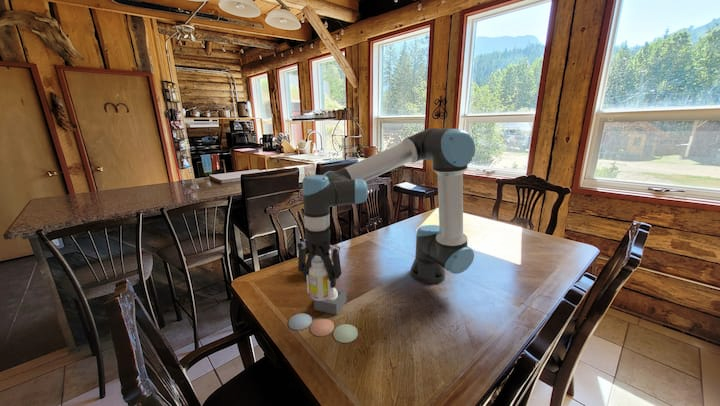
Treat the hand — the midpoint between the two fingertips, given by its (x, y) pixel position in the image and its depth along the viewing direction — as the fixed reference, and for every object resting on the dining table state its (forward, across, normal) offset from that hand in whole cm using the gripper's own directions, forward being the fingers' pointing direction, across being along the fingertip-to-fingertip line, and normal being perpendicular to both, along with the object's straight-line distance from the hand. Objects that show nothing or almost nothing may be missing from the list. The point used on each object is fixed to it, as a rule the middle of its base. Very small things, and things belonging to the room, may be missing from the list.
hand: (320, 292), depth 92 cm
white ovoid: (+13, +3, -12) cm, 18 cm away
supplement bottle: (+1, 0, 0) cm, 1 cm away
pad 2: (+14, 0, 0) cm, 14 cm away
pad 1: (+14, +8, 0) cm, 16 cm away
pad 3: (+14, -8, 0) cm, 16 cm away
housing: (+14, +2, -12) cm, 18 cm away
